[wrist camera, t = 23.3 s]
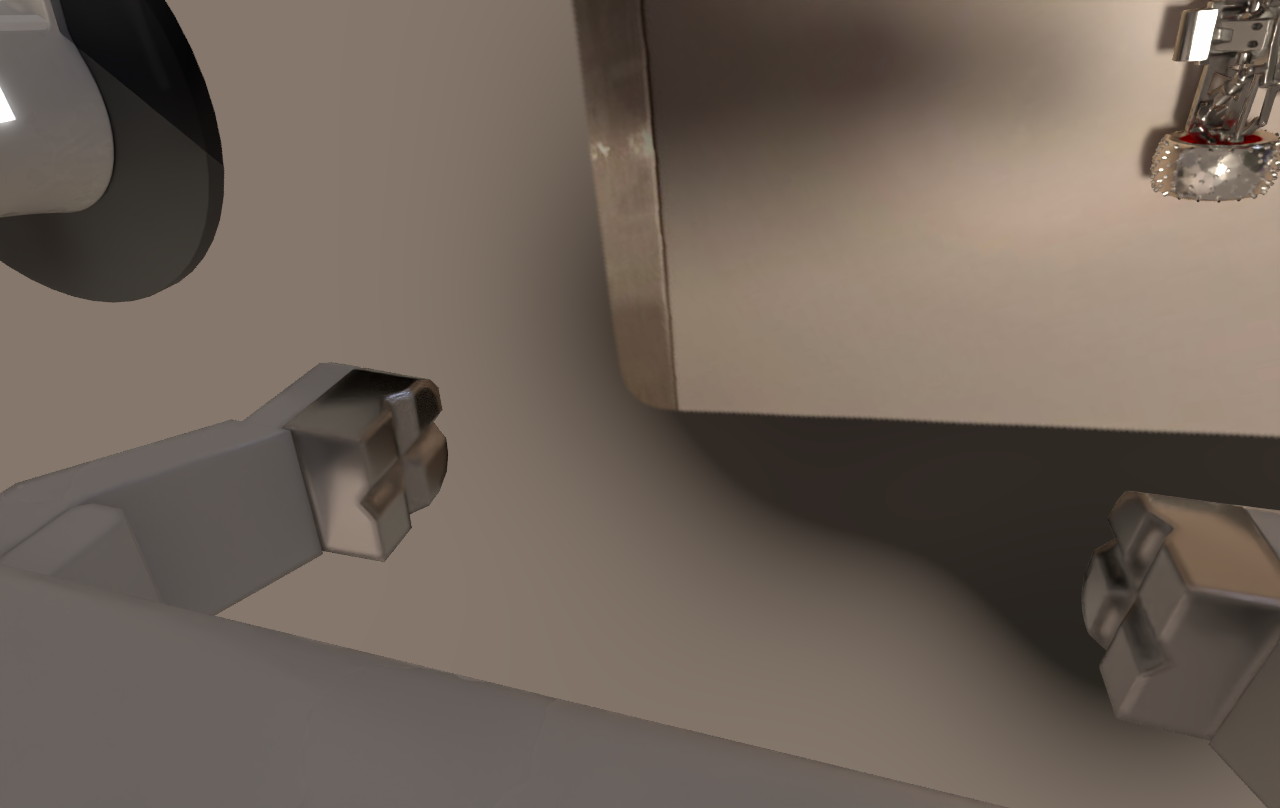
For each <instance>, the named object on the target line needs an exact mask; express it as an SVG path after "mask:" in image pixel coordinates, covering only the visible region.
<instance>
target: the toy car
mask: <svg viewBox="0 0 1280 808" xmlns="http://www.w3.org/2000/svg"><path fill="white" fill-rule="evenodd" d="M1172 60H1173V61H1195V63H1194V64H1195V65H1205V66H1204V69H1203V72H1202V75H1201V79H1200V82H1199V85H1198V88H1197V91H1196V95H1195V98H1194V101H1193V104H1192V107H1191V111H1190V114H1189V117H1188V120H1187V122H1186V126H1185V130H1183V131H1176V132H1175V133H1173V134H1166V135H1165V136H1164V137H1165V138H1164V137H1163V138H1162V139H1161V142H1159V143H1158V145H1159V146H1158V148H1156V149H1155V151H1157V152H1156V153H1155V155H1154V156H1153V157H1152V158H1153V160H1152V162H1153V163H1154V164H1152V165H1151V166H1152V167H1150V170H1152V171H1151V174H1153V175H1151V176H1150V178H1151V179H1153V180H1152V181H1151V186H1152V188H1154V191H1155V192H1158V191H1159V192H1161V193H1163V196H1167V195H1168V196H1172V197H1176V198H1178V199H1179V200H1180V199H1188V200H1197V202H1199V201H1217V202H1220V201H1231V200H1237V201H1240V200H1241V199H1246V198H1250V197H1251V198H1253V199H1255V198H1256V197H1257V195H1259V194H1262V195H1264V194H1266V193H1267V190H1268V189H1269V188H1270V186H1273V184H1274V183H1273V182H1272V180H1276V179H1277V177H1276V176H1277V175H1278V174H1277V173H1276V172H1279V171H1280V169H1279V168H1280V137H1278V136H1279V134H1278V133H1274V134H1273V133H1271V132H1268V131H1267V130H1258V128H1259V127H1264V126H1265V125H1266V124H1267V122H1268V118H1269V115H1270V112H1271V109H1272V105H1273V102H1274V99H1275V96H1276V92H1277V91H1278V90H1280V0H1218V1H1209V2H1208V4H1207V7H1205V8H1198V9H1189V10H1184V11H1182V15H1181V20H1180V25H1179V30H1178V34H1177V39H1176V44H1175V49H1174V54H1173V59H1172ZM1244 64H1246V67H1245V68H1243V66H1244ZM1232 65H1240V66H1239V70H1238V69H1235V68H1232V67H1230V66H1232ZM1214 72H1216V73H1219V74H1222V75H1224V76H1227V77H1230V78H1232V79H1229V80H1227V81H1226V82H1225V83H1224V84H1223V85H1221V86H1220V87H1218V88H1216V89H1215V90H1213V91H1212V92H1210V93H1207V92H1208V89H1209V86H1210V83H1211V80H1212V77H1213V74H1214ZM1254 74H1256V75H1255V78H1254V81H1253V83H1252V86H1251V89H1250V92H1249V95H1248V97H1247V100H1246V103H1245V106H1244V109H1243V112H1242V114H1241V117H1240V120H1239V123H1238V126H1237V128H1235V127H1236V124H1237V122H1238V119H1239V116H1240V113H1241V110H1242V108H1243V105H1244V102H1245V99H1246V96H1247V94H1248V91H1249V88H1250V85H1251V82H1252V80H1253V77H1254ZM1258 87H1260V88H1268V90H1267V93H1266V96H1265V100H1264V103H1263V106H1262V109H1261V113H1260V116H1259V117H1255V118H1253V119H1252V121H1251V122H1250V123H1249V124H1248V125H1247V126H1246V127H1245V128H1244V126H1245V123H1246V120H1247V118H1248V115H1249V112H1250V109H1251V106H1252V104H1253V101H1254V98H1255V95H1256V93H1257V90H1258ZM1234 96H1235V98H1234ZM1201 103H1206V105H1205V106H1202V107H1201V108H1200V105H1201ZM1219 105H1223V106H1221V107H1219V108H1218V109H1216V110H1215V109H1214V108H1215V107H1216V106H1219ZM1199 108H1200V109H1199ZM1223 116H1224V117H1223ZM1196 117H1198V118H1196ZM1263 122H1264V123H1263Z"/></svg>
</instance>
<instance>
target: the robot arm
mask: <svg viewBox="0 0 1280 808" xmlns="http://www.w3.org/2000/svg"><path fill="white" fill-rule="evenodd" d="M113 165H114V143H113V135H112V129H111V125H110V120H109V117H108V113H107V110H106V107H105V104H104V101H103V98H102V96H101V93H100V91H99V89H98V86H97V84H96V82H95V80H94V78H93V76H92V74H91V72H90V70H89V68H88V67H87V65H86V63H85V62H84V60H83V58H82V56H81V55H80V53H79V51H78V49H77V48H76V46H75V44H74V42H73V40H72V38H71V36H70V34H69V31H68V28H67V24H66V20H65V17H64V13H63V10H62V6H61V3H60V0H0V218H1V217H9V216H18V215H28V214H42V213H72V212H78V211H82V210H84V209H87V208H89V207H90V206H92V205H93V204H95V203H96V202H97V201H98V200H99V199H100V198H101V197H102V195H103V194H104V193H105V191H106V189H107V187H108V185H109V182H110V179H111V176H112V171H113ZM441 411H442V405H441V400H440V394H439V388H438V387H437V386H436V385H435V384H434V383H433V382H432V381H431V380H430V379H424V378H418V377H413V376H407V375H402V374H396V373H391V372H385V371H379V370H374V369H369V368H360V367H358V366H352V365H345V364H338V363H319V364H318V365H317V366H315V367H314V368H312V369H311V370H310V371H308V372H307V373H306V374H304V375H303V376H302V377H301V378H299V379H298V380H297V381H295V382H294V383H293V384H291V385H290V386H289V387H287V388H286V389H285V390H283V391H282V392H281V393H279V394H278V395H277V396H275V397H274V398H273V399H271V400H270V401H269V402H267V403H266V404H265V405H263V406H262V407H261V408H259V409H258V410H257V411H255V412H254V413H253V414H251V415H250V416H249V417H247V418H246V419H245V420H243V421H236V420H228V421H225V422H222V423H218V424H215V425H212V426H208V427H205V428H201V429H198V430H195V431H191V432H188V433H184V434H181V435H178V436H175V437H171V438H167V439H164V440H161V441H158V442H154V443H151V444H147V445H144V446H141V447H137V448H134V449H130V450H127V451H123V452H120V453H117V454H113V455H110V456H107V457H103V458H100V459H96V460H93V461H90V462H86V463H83V464H79V465H76V466H73V467H70V468H66V469H63V470H60V471H56V472H52V473H49V474H46V475H42V476H39V477H35V478H32V479H29V480H25V481H22V482H19V483H16V484H14V485H13V486H11V487H9V488H8V489H6V490H5V491H3V492H2V493H0V808H1008V807H1004V806H1000V805H995V804H992V803H988V802H983V801H979V800H975V799H971V798H967V797H963V796H959V795H954V794H951V793H946V792H942V791H938V790H934V789H930V788H926V787H922V786H918V785H914V784H909V783H905V782H901V781H897V780H893V779H889V778H885V777H881V776H877V775H873V774H868V773H864V772H860V771H856V770H852V769H848V768H843V767H839V766H835V765H831V764H827V763H823V762H818V761H815V760H811V759H806V758H803V757H798V756H794V755H790V754H786V753H782V752H777V751H774V750H770V749H765V748H761V747H757V746H753V745H749V744H745V743H740V742H736V741H732V740H728V739H724V738H720V737H715V736H711V735H707V734H703V733H699V732H694V731H691V730H686V729H682V728H678V727H674V726H670V725H665V724H661V723H657V722H653V721H649V720H645V719H641V718H636V717H632V716H628V715H624V714H620V713H616V712H612V711H607V710H603V709H599V708H595V707H591V706H587V705H582V704H578V703H574V702H570V701H566V700H562V699H558V698H553V697H549V696H545V695H540V694H537V693H533V692H528V691H524V690H520V689H516V688H512V687H507V686H503V685H499V684H495V683H491V682H487V681H483V680H479V679H474V678H470V677H466V676H462V675H458V674H454V673H449V672H445V671H441V670H437V669H433V668H428V667H424V666H421V665H416V664H412V663H408V662H403V661H400V660H396V659H391V658H387V657H383V656H379V655H375V654H370V653H367V652H362V651H358V650H354V649H350V648H345V647H341V646H338V645H333V644H329V643H325V642H321V641H317V640H312V639H308V638H304V637H300V636H296V635H292V634H288V633H284V632H280V631H275V630H271V629H267V628H262V627H259V626H254V625H250V624H246V623H242V622H238V621H234V620H230V619H225V618H222V617H217V616H215V615H216V614H218V613H220V612H222V611H223V610H225V609H227V608H229V607H230V606H232V605H234V604H236V603H237V602H239V601H241V600H243V599H244V598H246V597H248V596H250V595H251V594H253V593H255V592H257V591H259V590H260V589H262V588H264V587H266V586H267V585H269V584H271V583H273V582H274V581H276V580H278V579H280V578H282V577H283V576H285V575H287V574H289V573H290V572H292V571H294V570H296V569H297V568H299V567H301V566H303V565H305V564H306V563H308V562H310V561H312V560H313V559H315V558H317V557H319V556H320V555H322V554H323V552H322V551H326V552H332V553H337V554H343V555H348V556H354V557H359V558H365V559H370V560H376V561H381V562H385V561H386V559H387V558H388V557H389V555H390V554H391V553H392V552H393V551H394V549H395V548H396V547H397V545H398V544H399V543H400V542H401V541H402V539H403V538H404V537H405V536H406V534H407V533H408V532H409V530H410V529H411V528H412V526H411V520H410V514H412V513H413V512H416V511H418V510H420V509H423V508H425V507H427V506H429V505H430V503H431V502H432V501H433V499H434V498H435V497H436V495H437V494H438V493H439V491H440V489H441V486H442V483H443V480H444V477H445V475H446V472H447V461H448V450H447V442H446V437H445V436H444V435H443V434H442V432H441V431H440V430H439V428H438V427H437V426H436V425H435V423H434V421H435V419H436V418H437V416H438V415H439V414H440V412H441ZM1108 521H1109V524H1110V526H1111V529H1112V531H1113V534H1114V536H1115V539H1114V540H1112V541H1110V542H1108V543H1107V544H1105V545H1103V546H1101V547H1100V548H1098V549H1096V550H1095V551H1094V552H1093V554H1092V557H1091V559H1090V562H1089V564H1088V567H1087V569H1086V572H1085V575H1084V582H1083V589H1082V608H1083V616H1084V620H1085V623H1086V627H1087V630H1088V633H1089V634H1090V635H1091V636H1092V637H1093V638H1094V639H1095V640H1096V641H1097V642H1098V643H1099V644H1101V646H1103V647H1104V648H1105V649H1106V650H1107V651H1106V653H1105V655H1104V658H1103V659H1102V661H1101V664H1100V666H1099V668H1100V670H1101V673H1102V677H1103V680H1104V683H1105V686H1106V689H1107V691H1108V695H1109V698H1110V701H1111V703H1112V707H1113V710H1114V713H1115V716H1116V718H1117V719H1121V720H1125V721H1130V722H1134V723H1138V724H1142V725H1146V726H1150V727H1154V728H1159V729H1163V730H1167V731H1172V732H1175V733H1180V734H1184V735H1188V736H1193V737H1196V738H1201V739H1205V740H1209V741H1210V743H1209V745H1210V746H1211V747H1212V749H1213V750H1214V751H1215V752H1216V753H1217V754H1218V755H1219V756H1220V757H1221V758H1222V759H1223V760H1224V761H1225V762H1226V764H1227V765H1228V766H1229V767H1230V768H1231V769H1232V770H1233V771H1234V772H1235V773H1236V774H1237V775H1238V776H1239V778H1240V779H1241V780H1242V781H1243V782H1244V783H1245V784H1246V785H1247V786H1248V787H1249V788H1250V790H1251V791H1252V792H1253V793H1254V794H1255V795H1256V796H1257V797H1258V798H1259V799H1260V800H1261V801H1262V802H1263V804H1265V806H1266V807H1267V808H1280V511H1277V510H1270V509H1262V508H1254V507H1246V506H1238V505H1226V504H1219V503H1212V502H1205V501H1197V500H1190V499H1182V498H1175V497H1168V496H1161V495H1153V494H1146V493H1139V492H1131V491H1126V492H1125V493H1124V494H1123V495H1122V497H1120V499H1119V500H1118V501H1117V502H1116V504H1115V506H1114V508H1113V510H1112V512H1111V514H1110V517H1109V519H1108Z"/></svg>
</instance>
